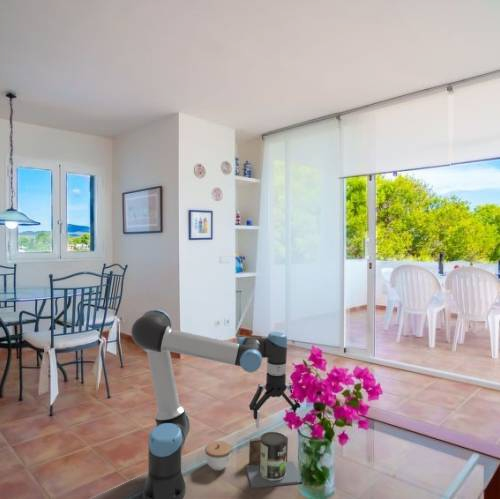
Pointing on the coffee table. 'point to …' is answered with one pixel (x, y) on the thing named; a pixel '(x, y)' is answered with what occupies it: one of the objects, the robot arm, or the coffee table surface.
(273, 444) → the coffee can
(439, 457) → the coffee table surface
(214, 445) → the lidded jar
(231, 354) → the robot arm
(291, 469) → the slate mat
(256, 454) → the walnut screen
